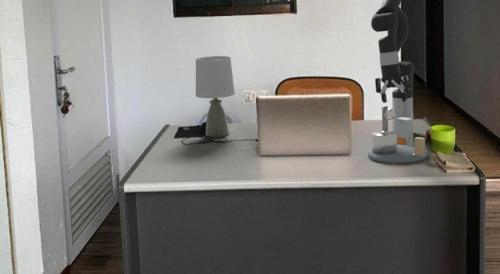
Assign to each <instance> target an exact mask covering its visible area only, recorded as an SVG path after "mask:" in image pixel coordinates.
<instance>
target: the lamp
mask: <svg viewBox="0 0 500 274" xmlns="http://www.w3.org/2000/svg"><path fill="white" fill-rule="evenodd" d="M231 58H232V57H230V56H226V55H224V56H223V55H215V56H213V55H212V56H204V57H198V58H197V57H196V59H195V97H197V98H200V99H211V100H209V101H208V102H209V104H210V106H209V108H208V112H207V116H206V124H205V126H206V127H205V135H206V137H208V136H209V138H223V137H226V136H229V134H230V130H229V125H228V120H227V115H226V113H225V110H224V108H223V106H222V99H221V98H228V97H232V96H234V95H235V84H234V77H233V76H234V74H233V69H232V61H231V60H232V59H231Z"/></svg>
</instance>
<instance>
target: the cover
mask: <svg viewBox="0 0 500 274" xmlns="http://www.w3.org/2000/svg"><path fill="white" fill-rule="evenodd" d="M371 149H372V152H373V153H375V154H380V155H388V154H394V153H396V152H397V133H395V132H392V130H390V131H389V130H388V131H382V130H380V131H374V132H372V133H371Z"/></svg>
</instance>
